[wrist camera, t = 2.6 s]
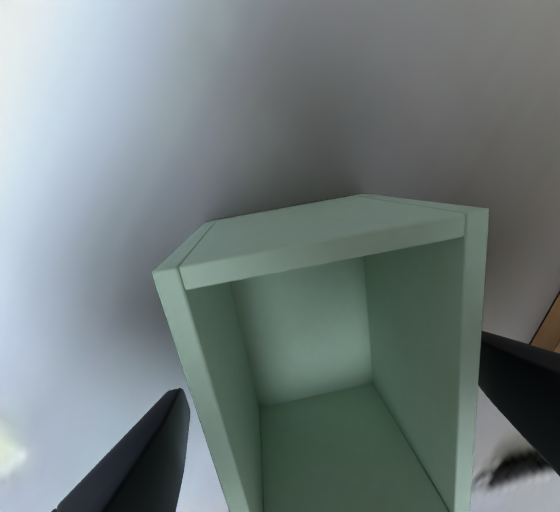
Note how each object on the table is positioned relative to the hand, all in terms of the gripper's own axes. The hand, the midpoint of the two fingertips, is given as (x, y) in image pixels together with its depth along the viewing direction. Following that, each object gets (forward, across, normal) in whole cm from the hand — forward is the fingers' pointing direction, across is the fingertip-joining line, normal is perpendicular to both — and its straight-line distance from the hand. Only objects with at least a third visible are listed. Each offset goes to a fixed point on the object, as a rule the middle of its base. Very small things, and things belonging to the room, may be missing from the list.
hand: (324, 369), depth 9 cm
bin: (+4, 0, 0) cm, 4 cm away
